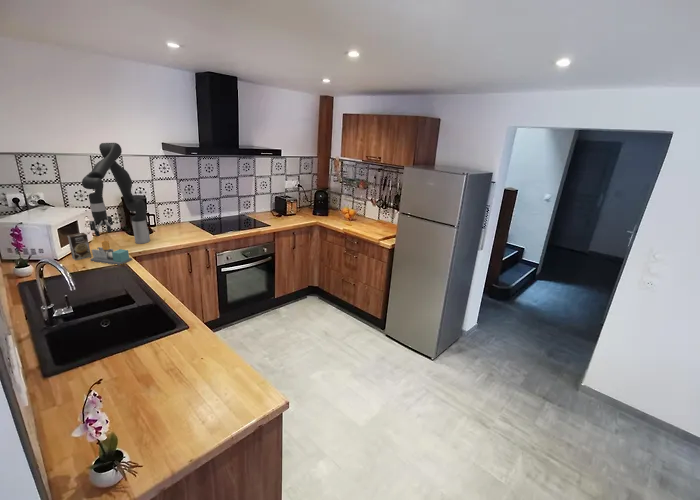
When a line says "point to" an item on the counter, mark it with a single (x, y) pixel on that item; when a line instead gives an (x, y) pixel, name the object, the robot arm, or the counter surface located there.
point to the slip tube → (106, 248)
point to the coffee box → (79, 246)
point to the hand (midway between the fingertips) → (103, 234)
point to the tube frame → (118, 257)
